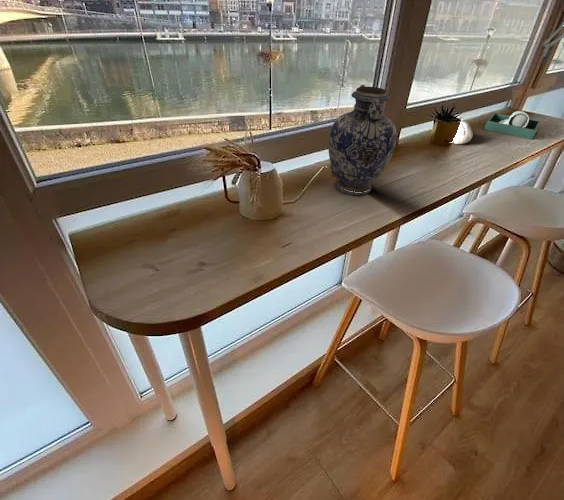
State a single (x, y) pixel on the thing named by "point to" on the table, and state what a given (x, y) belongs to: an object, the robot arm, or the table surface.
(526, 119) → the ceramic mug
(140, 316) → the table surface
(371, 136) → the decorative vase
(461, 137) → the sea urchin shell
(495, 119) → the tray
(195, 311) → the table surface
